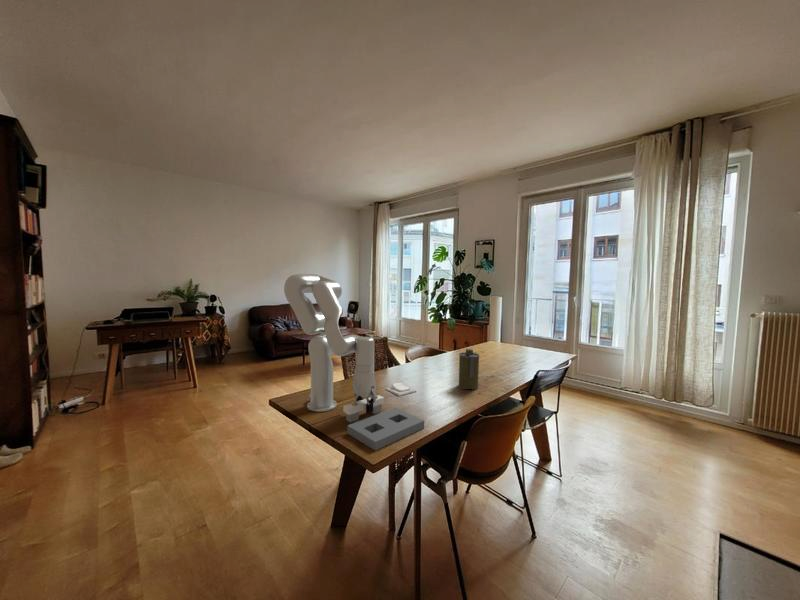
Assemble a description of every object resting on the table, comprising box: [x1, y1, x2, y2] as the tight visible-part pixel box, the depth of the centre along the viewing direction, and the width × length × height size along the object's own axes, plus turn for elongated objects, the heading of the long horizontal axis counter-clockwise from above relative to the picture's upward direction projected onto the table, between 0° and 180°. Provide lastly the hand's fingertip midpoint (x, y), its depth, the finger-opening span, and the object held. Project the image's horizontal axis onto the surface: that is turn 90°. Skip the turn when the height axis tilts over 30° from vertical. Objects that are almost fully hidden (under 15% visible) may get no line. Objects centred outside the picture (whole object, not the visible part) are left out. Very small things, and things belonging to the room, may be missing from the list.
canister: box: [458, 348, 480, 391], centre depth 170 cm, size 11×10×20 cm
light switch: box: [384, 382, 417, 397], centre depth 164 cm, size 11×4×13 cm
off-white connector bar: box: [342, 394, 385, 424], centre depth 133 cm, size 4×18×6 cm, turn 134°
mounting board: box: [346, 407, 425, 451], centre depth 120 cm, size 16×24×3 cm, turn 134°
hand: (364, 410), depth 133 cm, fingers open, 5 cm apart
